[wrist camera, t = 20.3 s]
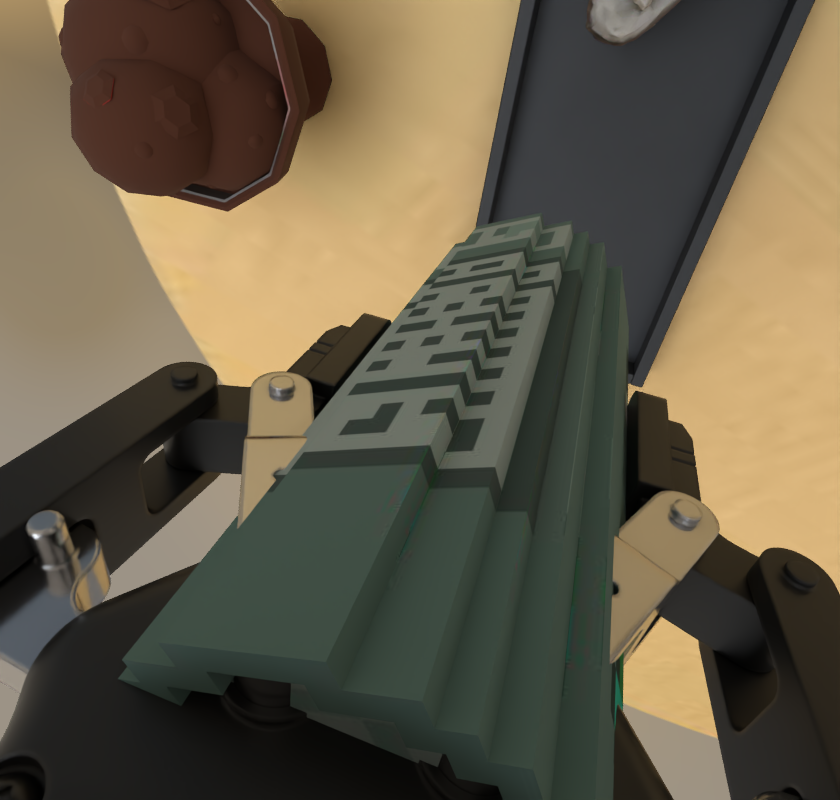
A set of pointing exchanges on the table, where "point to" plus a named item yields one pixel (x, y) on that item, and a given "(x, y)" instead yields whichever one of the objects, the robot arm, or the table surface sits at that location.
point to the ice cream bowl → (191, 94)
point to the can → (444, 532)
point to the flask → (624, 18)
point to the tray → (636, 136)
